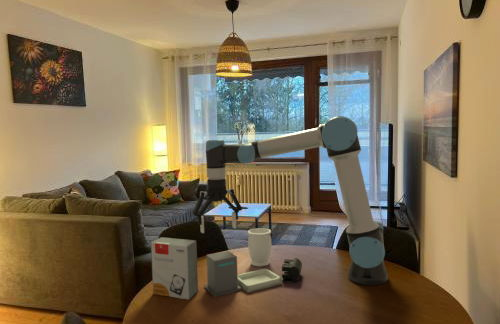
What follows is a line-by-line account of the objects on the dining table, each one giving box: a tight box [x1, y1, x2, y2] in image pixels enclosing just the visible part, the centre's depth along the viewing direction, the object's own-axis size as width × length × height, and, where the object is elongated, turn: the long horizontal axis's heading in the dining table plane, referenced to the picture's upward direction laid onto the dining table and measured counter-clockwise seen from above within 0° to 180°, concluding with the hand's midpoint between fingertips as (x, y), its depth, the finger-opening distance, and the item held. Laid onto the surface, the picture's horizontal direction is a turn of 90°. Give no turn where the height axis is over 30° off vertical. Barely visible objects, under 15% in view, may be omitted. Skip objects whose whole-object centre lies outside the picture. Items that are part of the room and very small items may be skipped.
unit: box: [203, 250, 243, 298], centre depth 142 cm, size 10×11×13 cm
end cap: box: [281, 257, 303, 283], centre depth 151 cm, size 10×7×7 cm
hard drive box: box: [150, 237, 199, 301], centre depth 139 cm, size 16×8×20 cm, turn 70°
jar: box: [247, 227, 272, 267], centre depth 168 cm, size 11×10×15 cm
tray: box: [237, 267, 283, 293], centre depth 147 cm, size 12×15×2 cm
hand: (218, 230), depth 152 cm, fingers open, 13 cm apart
